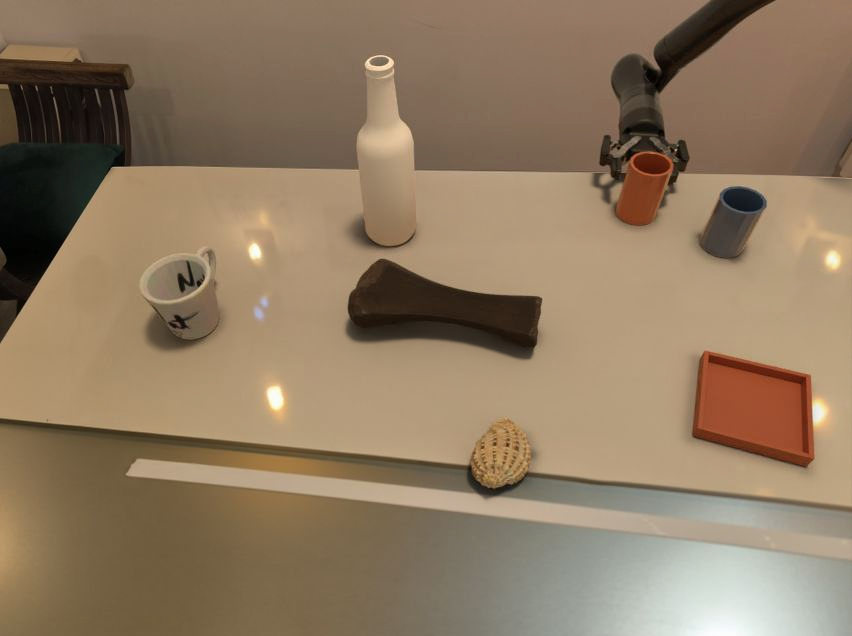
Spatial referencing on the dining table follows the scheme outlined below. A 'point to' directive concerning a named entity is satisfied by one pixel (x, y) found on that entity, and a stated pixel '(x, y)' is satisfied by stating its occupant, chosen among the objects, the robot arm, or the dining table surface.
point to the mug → (183, 292)
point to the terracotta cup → (643, 187)
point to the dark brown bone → (440, 304)
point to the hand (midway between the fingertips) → (644, 178)
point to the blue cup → (732, 221)
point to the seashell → (501, 455)
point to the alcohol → (386, 160)
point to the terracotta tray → (755, 408)
